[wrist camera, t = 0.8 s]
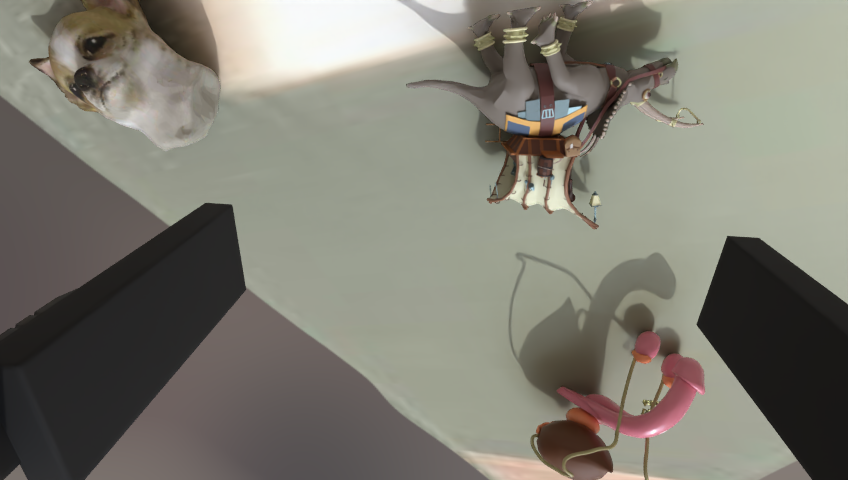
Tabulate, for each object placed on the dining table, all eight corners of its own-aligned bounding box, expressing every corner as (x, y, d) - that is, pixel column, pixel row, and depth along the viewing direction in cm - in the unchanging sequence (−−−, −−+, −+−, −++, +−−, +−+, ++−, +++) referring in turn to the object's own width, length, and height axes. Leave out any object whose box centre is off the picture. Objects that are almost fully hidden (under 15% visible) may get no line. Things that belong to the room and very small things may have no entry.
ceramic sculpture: (144, 205, 32) (-54, 71, 30) (213, 176, 40) (60, 68, 38) (205, 75, 28) (-20, -89, 26) (268, 71, 36) (99, -55, 34)
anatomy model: (750, 375, 40) (711, 557, 33) (624, 371, 52) (578, 504, 45) (673, 307, 38) (616, 487, 31) (561, 319, 50) (503, 451, 43)
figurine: (735, -28, 26) (706, 237, 33) (684, -18, 32) (667, 208, 39) (394, 30, 28) (433, 270, 35) (401, 30, 33) (433, 238, 40)
